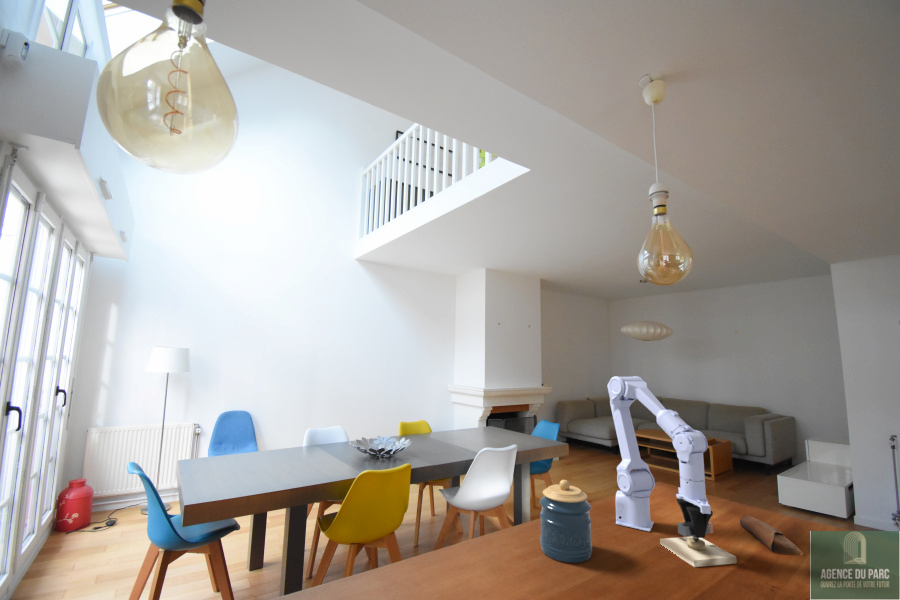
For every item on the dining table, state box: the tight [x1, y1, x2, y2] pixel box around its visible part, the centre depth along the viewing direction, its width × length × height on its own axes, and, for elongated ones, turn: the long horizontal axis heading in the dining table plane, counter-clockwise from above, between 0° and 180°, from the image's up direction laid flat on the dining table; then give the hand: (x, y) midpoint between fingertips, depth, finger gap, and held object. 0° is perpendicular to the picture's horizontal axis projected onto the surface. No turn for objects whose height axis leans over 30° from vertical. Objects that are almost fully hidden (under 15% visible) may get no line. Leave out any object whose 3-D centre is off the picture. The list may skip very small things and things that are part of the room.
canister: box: [539, 479, 593, 564], centre depth 107 cm, size 13×13×18 cm
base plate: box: [659, 536, 738, 568], centre depth 106 cm, size 12×12×3 cm
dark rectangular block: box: [677, 521, 714, 541], centre depth 107 cm, size 2×9×4 cm, turn 108°
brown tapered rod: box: [739, 515, 805, 556], centre depth 115 cm, size 18×7×7 cm
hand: (695, 533), depth 107 cm, fingers closed on dark rectangular block, 4 cm apart
